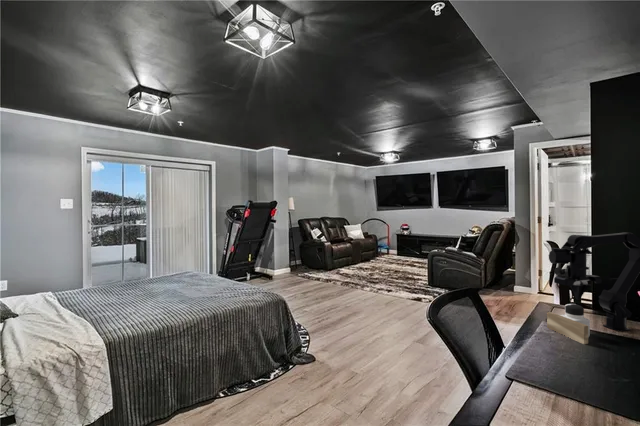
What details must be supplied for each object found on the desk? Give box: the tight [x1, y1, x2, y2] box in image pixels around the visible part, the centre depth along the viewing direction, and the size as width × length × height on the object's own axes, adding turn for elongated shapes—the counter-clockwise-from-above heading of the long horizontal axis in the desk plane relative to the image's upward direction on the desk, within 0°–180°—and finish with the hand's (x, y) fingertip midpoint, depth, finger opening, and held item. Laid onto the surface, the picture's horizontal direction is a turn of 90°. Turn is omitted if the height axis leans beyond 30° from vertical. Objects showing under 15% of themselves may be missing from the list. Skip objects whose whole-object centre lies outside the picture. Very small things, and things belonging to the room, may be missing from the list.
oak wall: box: [546, 311, 589, 345], centre depth 129 cm, size 2×16×7 cm, turn 10°
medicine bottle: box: [559, 303, 591, 338], centre depth 131 cm, size 7×7×12 cm
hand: (577, 299), depth 138 cm, fingers closed
